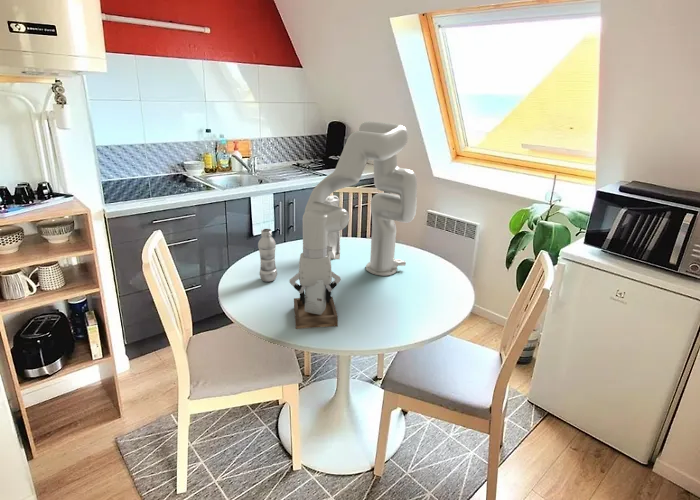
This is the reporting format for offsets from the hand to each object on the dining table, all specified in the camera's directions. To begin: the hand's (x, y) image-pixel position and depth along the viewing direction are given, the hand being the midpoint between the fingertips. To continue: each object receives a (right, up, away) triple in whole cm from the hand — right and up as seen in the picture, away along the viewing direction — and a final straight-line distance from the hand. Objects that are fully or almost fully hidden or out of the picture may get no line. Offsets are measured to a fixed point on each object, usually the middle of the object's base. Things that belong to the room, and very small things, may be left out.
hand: (315, 301), depth 141 cm
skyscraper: (+3, +13, +48) cm, 49 cm away
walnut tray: (0, -5, +2) cm, 6 cm away
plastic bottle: (-20, +5, +25) cm, 32 cm away
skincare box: (0, -3, +1) cm, 4 cm away
